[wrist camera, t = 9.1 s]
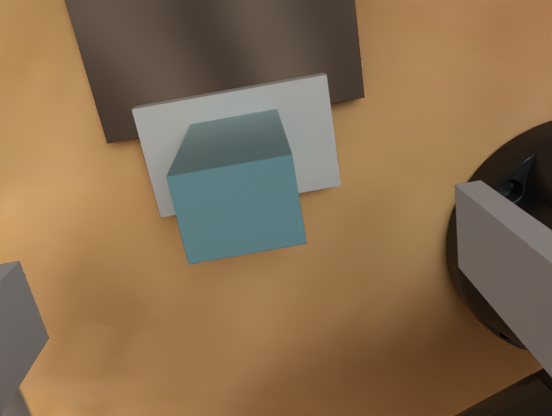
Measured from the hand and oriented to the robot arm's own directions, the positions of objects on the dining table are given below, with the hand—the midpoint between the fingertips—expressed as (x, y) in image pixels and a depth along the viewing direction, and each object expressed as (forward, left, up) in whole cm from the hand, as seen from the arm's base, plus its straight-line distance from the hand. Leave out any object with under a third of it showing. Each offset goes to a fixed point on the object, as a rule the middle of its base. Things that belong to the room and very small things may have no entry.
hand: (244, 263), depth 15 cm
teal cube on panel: (0, 0, -13) cm, 14 cm away
